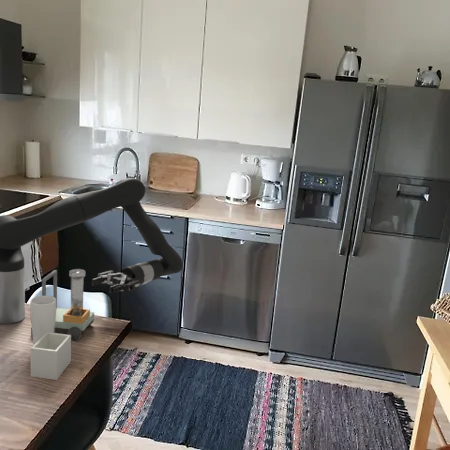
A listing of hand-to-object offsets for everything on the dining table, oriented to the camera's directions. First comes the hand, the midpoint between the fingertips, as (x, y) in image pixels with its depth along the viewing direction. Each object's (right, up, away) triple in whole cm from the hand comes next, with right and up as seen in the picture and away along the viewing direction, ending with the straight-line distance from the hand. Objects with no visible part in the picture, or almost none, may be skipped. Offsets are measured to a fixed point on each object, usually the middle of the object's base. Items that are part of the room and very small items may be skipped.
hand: (101, 286), depth 148 cm
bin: (-7, -19, -25) cm, 32 cm away
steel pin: (-6, -9, -6) cm, 12 cm away
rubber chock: (-17, -14, -8) cm, 23 cm away
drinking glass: (-12, -16, -15) cm, 25 cm away
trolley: (-9, -13, -3) cm, 17 cm away
